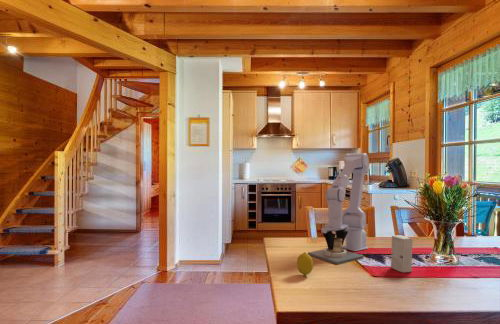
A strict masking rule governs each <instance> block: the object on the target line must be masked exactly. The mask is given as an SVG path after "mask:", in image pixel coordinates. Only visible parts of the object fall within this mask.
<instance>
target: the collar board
mask: <svg viewBox="0 0 500 324" xmlns="http://www.w3.org/2000/svg"><path fill="white" fill-rule="evenodd" d="M342 250H343V252H341V253H332V252H330V249H328V247H326V248H323V249H319V250H314V251H308V252H307V254H309V255H310V256H311V257H312V258H316V259H319V260H322V261H325V262H328V263H331V264H335V265H341V264H345V263H349V262H354V261H358V260H362V259H364V257H365V255H362V254H359V253H356V252H353V251H352V252H351V251H350V250H349V251H348V250H347V249H345V248H342Z"/></svg>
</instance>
